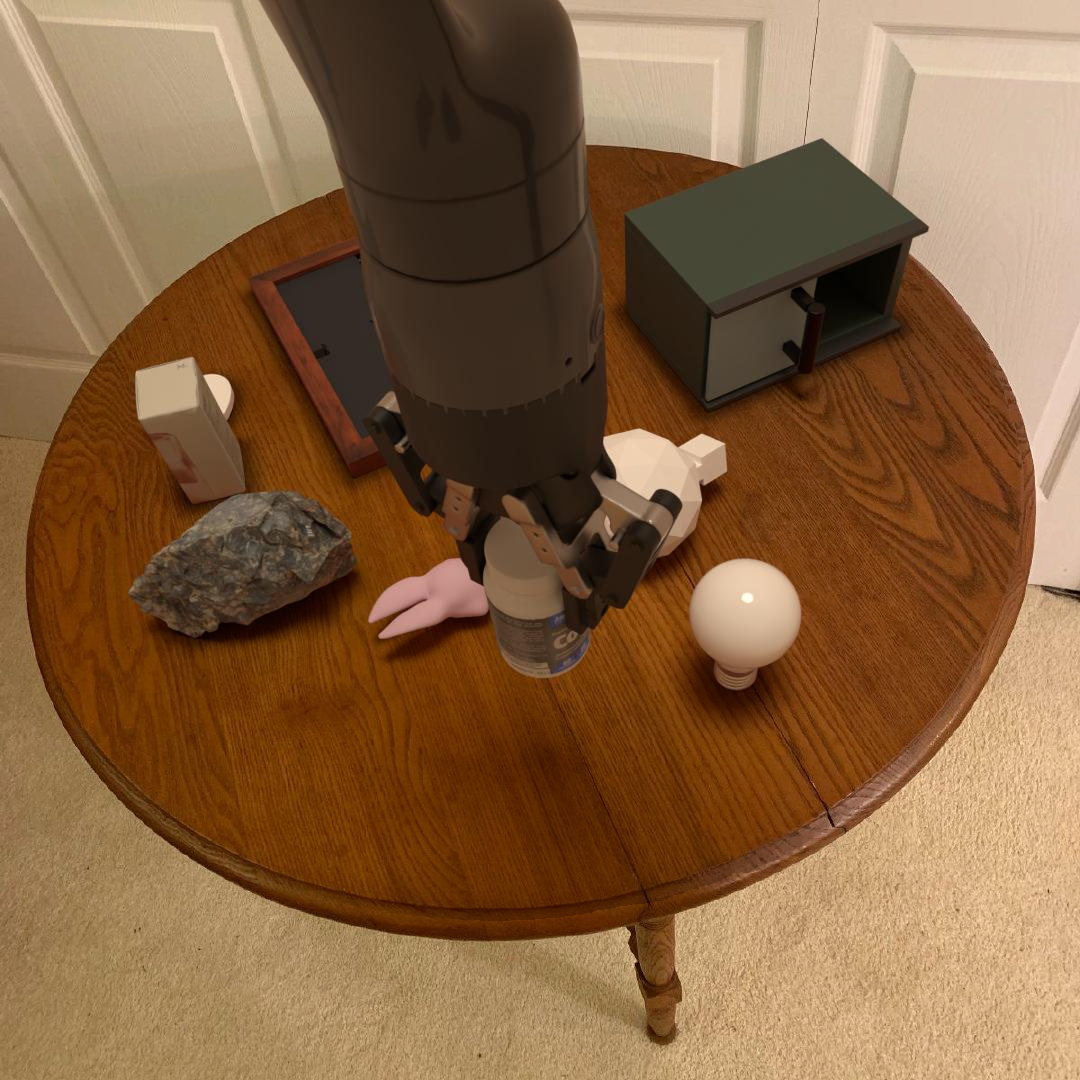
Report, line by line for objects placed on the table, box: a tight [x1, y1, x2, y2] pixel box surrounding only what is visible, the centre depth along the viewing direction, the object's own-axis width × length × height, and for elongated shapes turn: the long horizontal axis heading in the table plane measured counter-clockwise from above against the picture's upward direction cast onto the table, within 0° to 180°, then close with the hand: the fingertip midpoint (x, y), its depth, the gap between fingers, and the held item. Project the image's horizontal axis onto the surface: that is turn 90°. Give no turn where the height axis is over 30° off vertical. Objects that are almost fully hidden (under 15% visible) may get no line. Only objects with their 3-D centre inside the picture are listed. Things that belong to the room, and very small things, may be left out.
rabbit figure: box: [367, 557, 490, 640], centre depth 67 cm, size 6×6×15 cm
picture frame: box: [247, 235, 393, 479], centre depth 84 cm, size 20×2×25 cm
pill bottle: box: [483, 517, 592, 679], centre depth 47 cm, size 5×5×8 cm
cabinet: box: [623, 137, 930, 413], centre depth 78 cm, size 13×18×10 cm
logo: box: [203, 373, 235, 421], centre depth 82 cm, size 6×1×8 cm
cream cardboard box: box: [134, 356, 247, 505], centre depth 73 cm, size 5×4×10 cm
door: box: [705, 278, 825, 401], centre depth 73 cm, size 4×9×8 cm, turn 116°
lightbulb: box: [688, 557, 803, 692], centre depth 59 cm, size 6×6×11 cm
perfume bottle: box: [603, 428, 728, 558], centre depth 68 cm, size 9×9×12 cm
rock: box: [127, 489, 358, 639], centre depth 66 cm, size 14×10×10 cm
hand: (537, 592), depth 47 cm, fingers closed on pill bottle, 4 cm apart
